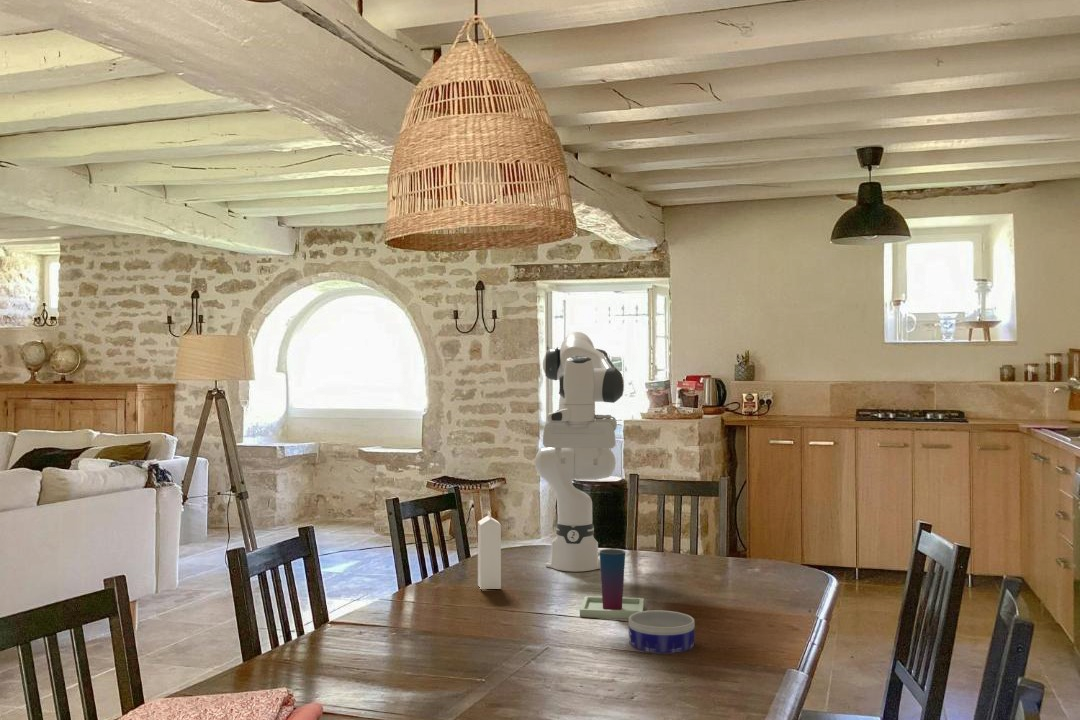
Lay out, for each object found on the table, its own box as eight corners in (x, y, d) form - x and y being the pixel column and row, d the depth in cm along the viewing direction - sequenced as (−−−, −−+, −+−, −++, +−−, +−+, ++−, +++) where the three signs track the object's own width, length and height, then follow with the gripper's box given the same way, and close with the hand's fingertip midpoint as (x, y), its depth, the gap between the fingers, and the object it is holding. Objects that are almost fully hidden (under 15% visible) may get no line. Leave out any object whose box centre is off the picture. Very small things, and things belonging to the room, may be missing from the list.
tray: (584, 602, 251) (584, 596, 251) (643, 604, 249) (643, 598, 249) (579, 616, 237) (579, 609, 237) (642, 619, 235) (642, 611, 235)
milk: (480, 590, 265) (480, 514, 265) (477, 585, 271) (477, 510, 271) (501, 589, 266) (500, 513, 266) (498, 584, 272) (497, 509, 272)
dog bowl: (617, 638, 219) (617, 612, 219) (674, 632, 225) (674, 607, 225) (646, 657, 205) (646, 630, 205) (707, 650, 210) (707, 623, 210)
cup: (623, 612, 239) (623, 554, 239) (597, 610, 241) (597, 553, 241) (627, 605, 246) (627, 549, 246) (601, 604, 247) (601, 548, 247)
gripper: (617, 414, 258) (617, 463, 258) (544, 413, 261) (544, 462, 261) (615, 415, 252) (615, 466, 252) (541, 415, 255) (541, 465, 255)
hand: (579, 464), depth 257 cm, fingers open, 8 cm apart
